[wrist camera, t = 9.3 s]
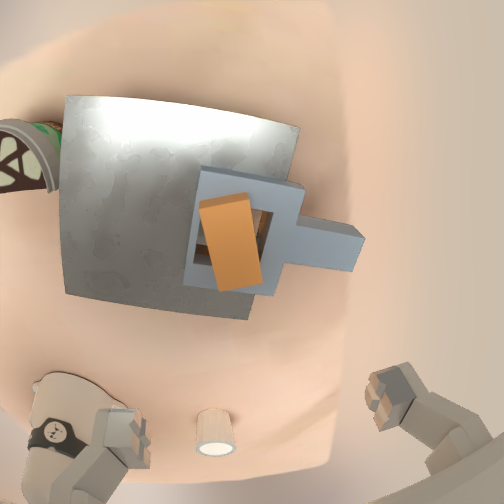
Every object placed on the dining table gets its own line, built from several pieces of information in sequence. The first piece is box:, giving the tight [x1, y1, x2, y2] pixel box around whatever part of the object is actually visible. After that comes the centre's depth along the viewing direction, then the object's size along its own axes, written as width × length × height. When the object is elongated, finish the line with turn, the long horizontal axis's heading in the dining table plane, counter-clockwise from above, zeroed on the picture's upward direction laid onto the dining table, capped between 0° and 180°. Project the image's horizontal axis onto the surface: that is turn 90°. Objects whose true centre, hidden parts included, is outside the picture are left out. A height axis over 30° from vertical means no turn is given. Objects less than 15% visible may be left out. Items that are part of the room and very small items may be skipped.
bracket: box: [183, 165, 365, 296], centre depth 23 cm, size 8×13×3 cm, turn 77°
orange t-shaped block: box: [199, 192, 263, 292], centre depth 23 cm, size 6×3×8 cm, turn 9°
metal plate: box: [59, 95, 300, 320], centre depth 25 cm, size 16×16×10 cm
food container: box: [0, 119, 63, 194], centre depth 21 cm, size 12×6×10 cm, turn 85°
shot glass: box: [195, 409, 236, 457], centre depth 46 cm, size 7×7×7 cm
